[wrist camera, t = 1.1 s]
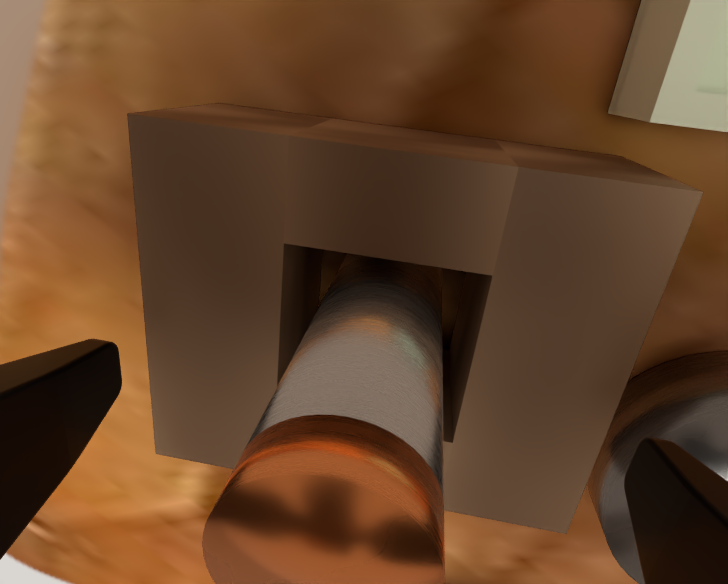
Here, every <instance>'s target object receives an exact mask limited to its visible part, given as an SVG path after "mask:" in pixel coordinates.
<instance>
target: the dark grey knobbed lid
mask: <svg viewBox="0 0 728 584" xmlns="http://www.w3.org/2000/svg"><path fill="white" fill-rule="evenodd" d="M646 437H651V438H657V439H662V440H668V441H671V442H674V443H675V444H677V445H678V446H680V447H681V448H682V449H684V450H685V451H686V452H688V453H689V454H691V455H692V456H693V457H695V458H696V459H698V460H699V461H700V462H702V463H703V464H704V465H706V466H707V467H709V468H710V469H711V470H713V471H714V472H715V473H717V474H718V475H720V476H721V477H722V478H724V479H725V480H727V481H728V351H719V352H710V353H701V354H696V355H691V356H686V357H682V358H679V359H676V360H672V361H669V362H666V363H664V364H661V365H659V366H656V367H654V368H652V369H649V370H648V371H646V372H644V373H642V374H640V375H638V376H637V377H635V378H633V379H632V380H630V381H629V382H627V384H626V387H625V389H624V392H623V394H622V397H621V399H620V401H619V404H618V406H617V409H616V411H615V414H614V416H613V419H612V421H611V424H610V426H609V429H608V431H607V434H606V436H605V439H604V441H603V444H602V446H601V449H600V451H599V454H598V456H597V459H596V461H595V464H594V466H593V469H592V471H591V474H590V476H589V479H588V481H587V487H588V490H589V493H590V496H591V498H592V501H593V504H594V507H595V509H596V512H597V515H598V518H599V520H600V523H601V526H602V529H603V531H604V534H605V537H606V540H607V543H608V545H609V547H610V550H611V552H612V554H613V556H614V557H615V559H616V560H617V562H618V563H619V565H620V566H621V567H622V568H623V569H624V571H625V572H626V573H627V574H628V575H629V576H630V577H632V578H633V579H634V580H635V581H636V582H638V583H639V584H645V581H644V577H643V573H642V569H641V565H640V560H639V556H638V551H637V546H636V542H635V537H634V532H633V528H632V523H631V518H630V514H629V509H628V504H627V500H626V495H625V490H624V479H625V474H626V472H627V469H628V467H629V465H630V463H631V460H632V458H633V456H634V453H635V451H636V449H637V447H638V444H639V443H640V441H641V440H642V439H644V438H646Z"/></svg>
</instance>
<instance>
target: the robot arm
mask: <svg viewBox="0 0 728 584" xmlns="http://www.w3.org/2000/svg"><path fill="white" fill-rule="evenodd" d="M121 386H122V377H121V368H120V359H119V351H118V347H117V345H116V344H114V343H113V342H109V341H104V340H98V339H88V340H85V341H81V342H78V343H74V344H71V345H68V346H64V347H61V348H57V349H54V350H50V351H47V352H43V353H40V354H36V355H33V356H29V357H26V358H22V359H19V360H16V361H12V362H9V363H5V364H2V365H0V559H1V558H2V557H3V556H4V554H5V553H6V552H7V550H8V549H9V548H10V547H11V545H12V544H13V543H14V542H15V540H16V539H17V538H18V536H19V535H20V534H21V533H22V531H23V530H24V529H25V528H26V526H27V525H28V524H29V522H30V521H31V520H32V519H33V517H34V516H35V515H36V513H37V512H38V511H39V510H40V508H41V507H42V506H43V505H44V503H45V502H46V501H47V499H48V498H49V497H50V496H51V494H52V493H53V492H54V490H55V489H56V488H57V487H58V485H59V484H60V483H61V482H62V480H63V479H64V478H65V476H66V475H67V474H68V472H69V471H70V469H71V468H72V467H73V465H74V464H75V462H76V461H77V459H78V458H79V456H80V455H81V453H82V452H83V450H84V449H85V447H86V445H87V444H88V442H89V441H90V439H91V438H92V436H93V434H94V433H95V431H96V430H97V428H98V427H99V425H100V423H101V422H102V420H103V419H104V417H105V416H106V414H107V412H108V411H109V409H110V408H111V406H112V405H113V403H114V401H115V400H116V398H117V397H118V395H119V393H120V390H121ZM624 490H625V495H626V500H627V504H628V509H629V514H630V518H631V523H632V528H633V532H634V537H635V542H636V546H637V551H638V556H639V560H640V565H641V569H642V573H643V577H644V581H645V584H728V481H727V480H725V479H724V478H722V477H721V476H720V475H718V474H717V473H715V472H714V471H713V470H711V469H710V468H709V467H707V466H706V465H704V464H703V463H702V462H700V461H699V460H698V459H696V458H695V457H693V456H692V455H691V454H689V453H688V452H686V451H685V450H684V449H682V448H681V447H680V446H678V445H677V444H675V443H674V442H671V441H668V440H662V439H657V438H651V437H646V438H644V439H642V440H641V441H640V443H639V444H638V447H637V449H636V451H635V453H634V456H633V458H632V460H631V463H630V465H629V467H628V469H627V472H626V474H625V479H624Z"/></svg>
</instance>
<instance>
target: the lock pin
mask: <svg viewBox="0 0 728 584" xmlns="http://www.w3.org/2000/svg"><path fill="white" fill-rule="evenodd" d="M202 547H203V555H204V559H205V562H206V566H207V569H208V571H209V573H210V575H211V577H212V579H213V580H214V582H215V584H445V560H444V460H443V360H442V273H441V268H440V267H434V266H427V265H421V264H414V263H408V262H401V261H395V260H389V259H382V258H376V257H369V256H363V255H356V254H350V253H347V255H346V257H345V259H344V261H343V262H342V264H341V266H340V268H339V270H338V272H337V274H336V276H335V278H334V280H333V282H332V283H331V285H330V287H329V289H328V291H327V293H326V295H325V297H324V299H323V301H322V302H321V304H320V306H319V308H318V310H317V312H316V314H315V316H314V318H313V320H312V321H311V323H310V325H309V327H308V329H307V331H306V333H305V335H304V337H303V339H302V341H301V342H300V344H299V346H298V348H297V350H296V352H295V354H294V356H293V358H292V360H291V361H290V363H289V365H288V367H287V369H286V371H285V373H284V375H283V377H282V379H281V380H280V382H279V384H278V386H277V388H276V390H275V392H274V394H273V396H272V398H271V400H270V401H269V403H268V405H267V407H266V409H265V411H264V413H263V415H262V417H261V419H260V420H259V422H258V424H257V426H256V428H255V430H254V432H253V434H252V436H251V438H250V440H249V441H248V443H247V445H246V447H245V449H244V451H243V453H242V455H241V457H240V459H239V460H238V462H237V464H236V466H235V468H234V470H233V472H232V474H231V476H230V478H229V479H228V481H227V483H226V485H225V487H224V489H223V491H222V493H221V495H220V497H219V499H218V500H217V502H216V504H215V506H214V508H213V510H212V512H211V514H210V516H209V518H208V520H207V522H206V524H205V528H204V532H203V542H202Z"/></svg>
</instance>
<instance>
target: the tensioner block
mask: <svg viewBox="0 0 728 584" xmlns="http://www.w3.org/2000/svg"><path fill="white" fill-rule="evenodd" d="M127 116H128V128H129V140H130V152H131V164H132V176H133V188H134V200H135V212H136V224H137V236H138V248H139V260H140V272H141V284H142V296H143V308H144V320H145V332H146V344H147V356H148V368H149V380H150V392H151V404H152V416H153V428H154V440H155V452H156V454H159V455H164V456H169V457H174V458H180V459H185V460H190V461H195V462H200V463H205V464H210V465H215V466H220V467H226V468H231V469H234V468H235V466H236V464H237V462H238V460H239V459H240V457H241V455H242V453H243V451H244V449H245V447H246V445H247V443H248V441H249V440H250V438H251V436H252V434H253V432H254V430H255V428H256V426H257V424H258V422H259V420H260V419H261V417H262V415H263V413H264V411H265V409H266V407H267V405H268V403H269V401H270V400H271V398H272V396H273V394H274V392H275V390H276V388H277V386H278V384H279V382H280V380H281V379H282V377H283V375H284V373H285V371H286V369H287V367H288V365H289V363H290V361H291V360H292V358H293V356H294V354H295V352H296V350H297V348H298V346H299V344H300V342H301V341H302V339H303V337H304V335H305V333H306V331H307V329H308V327H309V325H310V323H311V321H312V320H313V318H314V316H315V314H316V312H317V310H318V301H319V289H320V276H321V264H322V252H323V249H324V250H330V251H337V252H343V253H350V254H356V255H363V256H369V257H376V258H382V259H389V260H395V261H401V262H408V263H414V264H421V265H427V266H434V267H440V268H447V269H453V270H460V271H466V275H465V280H464V285H463V289H462V294H461V299H460V303H459V308H458V313H457V317H456V322H455V327H454V331H453V336H452V341H451V345H450V350H449V351H448V350H442V360H443V460H444V510H446V511H451V512H456V513H461V514H466V515H471V516H476V517H481V518H487V519H492V520H497V521H502V522H507V523H512V524H517V525H522V526H527V527H533V528H538V529H543V530H548V531H553V532H558V533H563V534H566V533H567V531H568V528H569V526H570V523H571V521H572V518H573V516H574V514H575V511H576V509H577V506H578V504H579V501H580V499H581V496H582V494H583V491H584V489H585V486H586V484H587V481H588V479H589V476H590V474H591V471H592V469H593V466H594V464H595V461H596V459H597V456H598V454H599V451H600V449H601V446H602V444H603V441H604V439H605V436H606V434H607V431H608V429H609V426H610V424H611V421H612V419H613V416H614V414H615V411H616V409H617V406H618V404H619V401H620V399H621V397H622V394H623V392H624V389H625V387H626V384H627V382H628V379H629V377H630V374H631V372H632V369H633V367H634V364H635V362H636V359H637V357H638V354H639V352H640V349H641V347H642V344H643V342H644V339H645V337H646V334H647V332H648V329H649V327H650V324H651V322H652V319H653V317H654V314H655V312H656V309H657V307H658V304H659V302H660V299H661V297H662V294H663V292H664V289H665V287H666V284H667V282H668V280H669V277H670V275H671V272H672V270H673V267H674V265H675V262H676V260H677V257H678V255H679V252H680V250H681V247H682V245H683V242H684V240H685V237H686V235H687V232H688V230H689V227H690V225H691V222H692V220H693V217H694V215H695V212H696V210H697V207H698V205H699V202H700V200H701V197H702V195H703V192H702V191H700V190H698V189H695V188H693V187H691V186H688V185H686V184H684V183H681V182H679V181H677V180H674V179H672V178H670V177H668V176H665V175H663V174H661V173H658V172H656V171H654V170H651V169H649V168H647V167H645V166H642V165H640V164H638V163H635V162H633V161H631V160H628V159H626V158H624V157H622V156H614V155H607V154H599V153H591V152H584V151H576V150H569V149H561V148H554V147H546V146H539V145H531V144H523V143H516V142H508V141H501V140H493V139H486V138H478V137H471V136H463V135H455V134H448V133H440V132H433V131H425V130H418V129H410V128H402V127H395V126H387V125H380V124H372V123H365V122H357V121H350V120H342V119H334V118H327V117H319V116H312V115H304V114H297V113H289V112H282V111H274V110H266V109H259V108H251V107H244V106H236V105H229V104H221V103H215V104H206V105H197V106H189V107H180V108H171V109H163V110H154V111H145V112H137V113H128V114H127Z"/></svg>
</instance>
